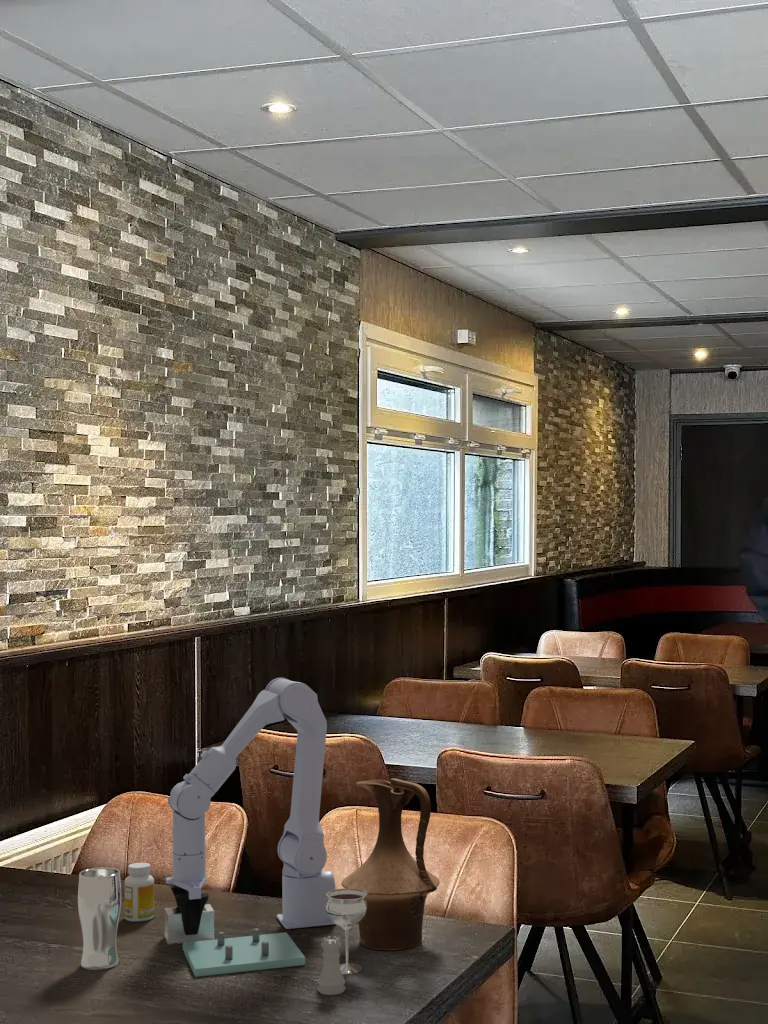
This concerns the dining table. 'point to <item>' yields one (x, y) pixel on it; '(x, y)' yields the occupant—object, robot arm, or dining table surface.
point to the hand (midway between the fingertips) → (189, 930)
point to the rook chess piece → (331, 968)
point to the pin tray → (242, 953)
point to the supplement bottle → (139, 893)
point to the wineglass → (347, 916)
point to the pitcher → (394, 871)
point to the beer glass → (99, 916)
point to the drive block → (176, 929)
